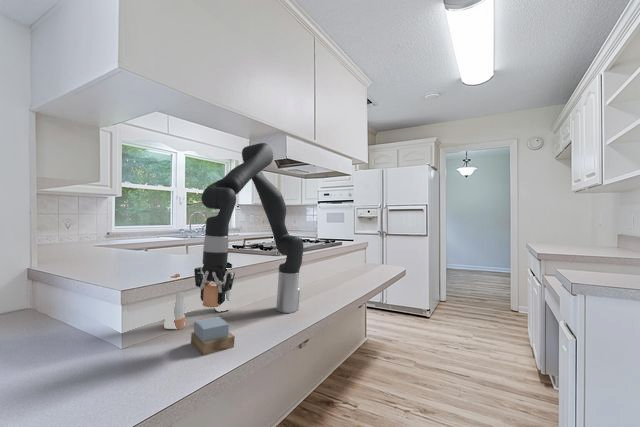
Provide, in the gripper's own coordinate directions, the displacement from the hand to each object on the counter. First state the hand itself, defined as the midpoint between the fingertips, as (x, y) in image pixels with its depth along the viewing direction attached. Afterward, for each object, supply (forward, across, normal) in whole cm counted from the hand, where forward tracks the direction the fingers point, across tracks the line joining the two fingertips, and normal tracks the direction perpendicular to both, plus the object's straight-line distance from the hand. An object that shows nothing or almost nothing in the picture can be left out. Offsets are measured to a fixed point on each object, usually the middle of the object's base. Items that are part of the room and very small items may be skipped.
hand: (212, 301), depth 101 cm
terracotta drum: (+1, 0, 0) cm, 1 cm away
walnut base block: (+15, 0, +1) cm, 15 cm away
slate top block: (+11, 0, 0) cm, 11 cm away
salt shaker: (+14, -21, +8) cm, 27 cm away
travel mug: (+14, -17, +31) cm, 38 cm away
